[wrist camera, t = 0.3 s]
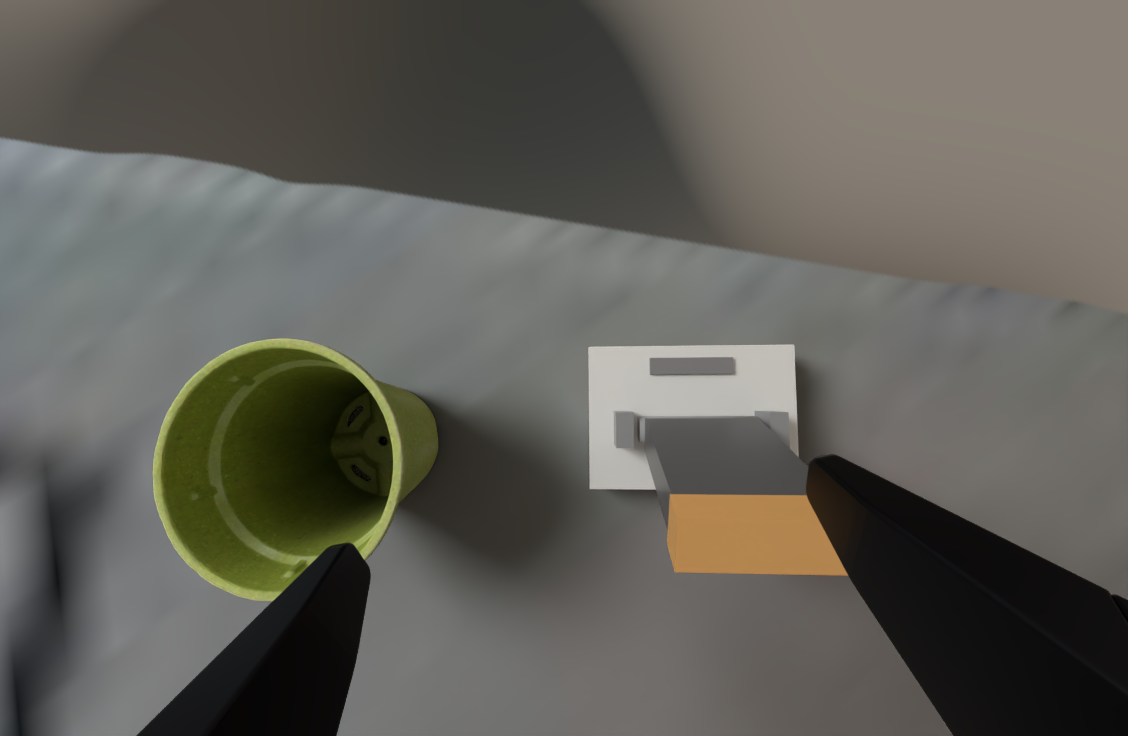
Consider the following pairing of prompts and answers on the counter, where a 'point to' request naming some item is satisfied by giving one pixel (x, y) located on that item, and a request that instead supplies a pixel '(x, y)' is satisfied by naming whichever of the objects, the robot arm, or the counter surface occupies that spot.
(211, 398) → the plant pot
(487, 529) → the counter surface
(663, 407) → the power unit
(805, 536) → the rocker lever
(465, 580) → the counter surface
